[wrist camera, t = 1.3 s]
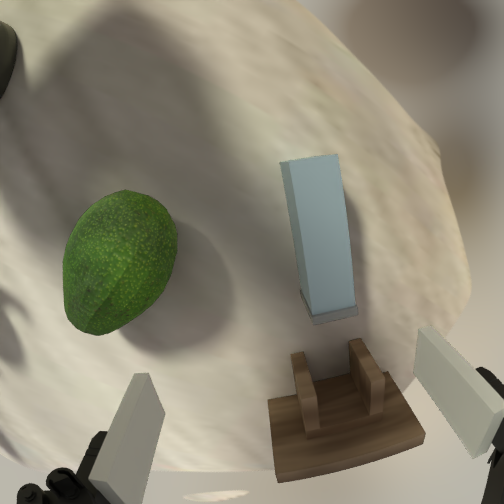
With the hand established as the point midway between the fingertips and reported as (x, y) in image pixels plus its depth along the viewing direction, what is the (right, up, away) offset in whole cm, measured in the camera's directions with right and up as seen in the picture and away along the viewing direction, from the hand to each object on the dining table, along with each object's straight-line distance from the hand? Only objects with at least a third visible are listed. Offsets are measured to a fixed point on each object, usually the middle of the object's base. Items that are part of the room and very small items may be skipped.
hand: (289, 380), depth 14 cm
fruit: (-15, +6, +18) cm, 24 cm away
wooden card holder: (+8, -9, +23) cm, 25 cm away
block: (+4, +8, +18) cm, 20 cm away
